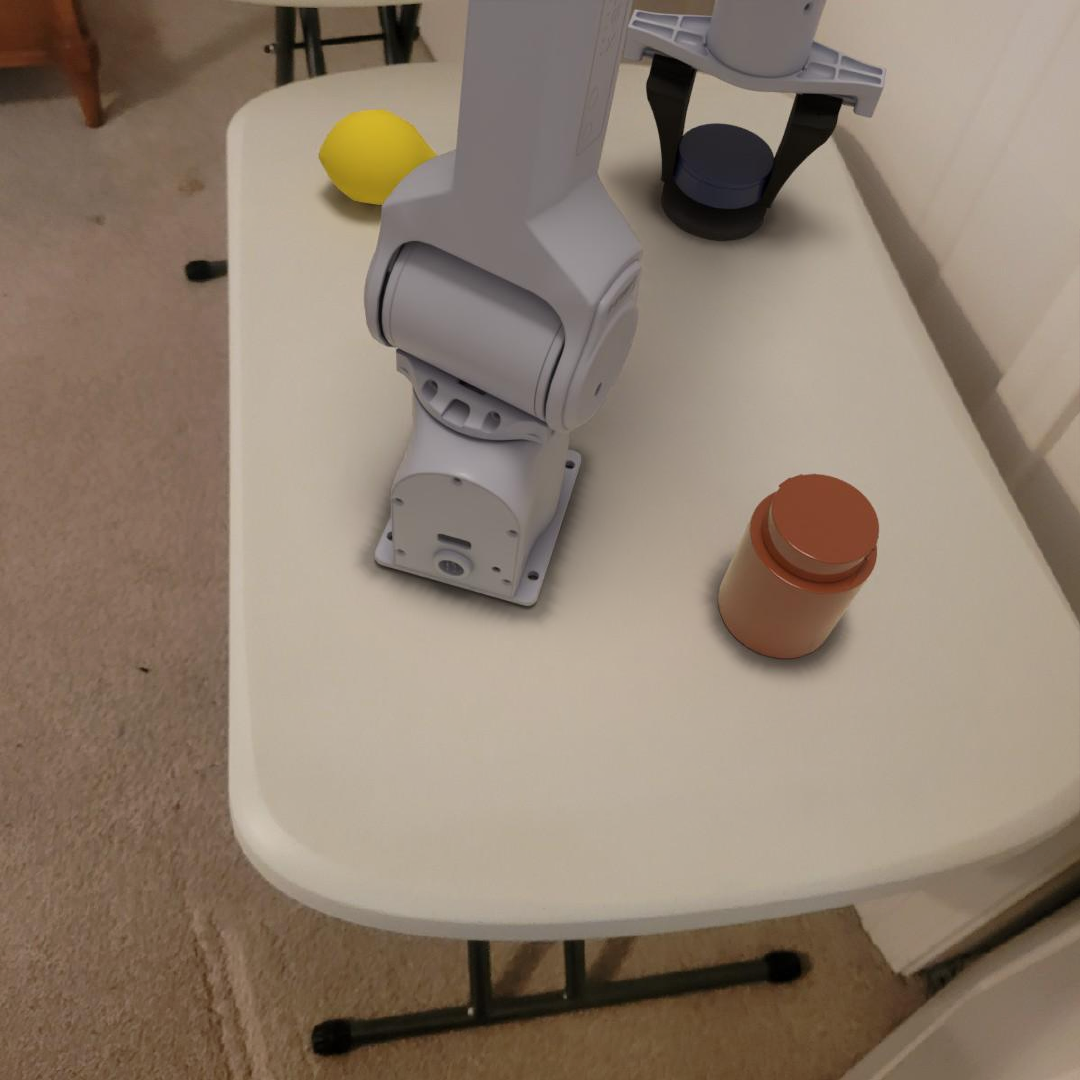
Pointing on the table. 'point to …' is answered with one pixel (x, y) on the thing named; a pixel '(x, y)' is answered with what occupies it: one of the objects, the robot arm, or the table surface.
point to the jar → (799, 565)
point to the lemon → (372, 154)
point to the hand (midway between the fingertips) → (718, 185)
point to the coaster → (710, 216)
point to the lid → (723, 165)
